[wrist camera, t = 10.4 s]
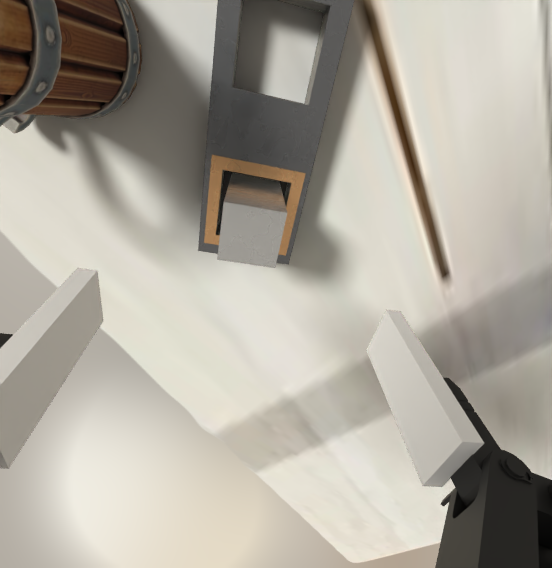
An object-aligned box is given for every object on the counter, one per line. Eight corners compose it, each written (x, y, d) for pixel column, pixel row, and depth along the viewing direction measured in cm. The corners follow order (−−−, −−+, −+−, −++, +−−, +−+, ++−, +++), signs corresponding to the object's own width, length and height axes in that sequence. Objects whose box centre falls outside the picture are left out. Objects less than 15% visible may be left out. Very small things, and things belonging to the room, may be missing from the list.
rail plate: (226, -54, 21) (223, -72, 19) (351, -17, 23) (362, -29, 20) (202, 240, 32) (198, 251, 30) (286, 253, 34) (288, 265, 31)
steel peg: (232, 172, 29) (223, 201, 21) (279, 181, 30) (287, 213, 22) (226, 218, 31) (217, 259, 24) (270, 225, 32) (275, 267, 24)
